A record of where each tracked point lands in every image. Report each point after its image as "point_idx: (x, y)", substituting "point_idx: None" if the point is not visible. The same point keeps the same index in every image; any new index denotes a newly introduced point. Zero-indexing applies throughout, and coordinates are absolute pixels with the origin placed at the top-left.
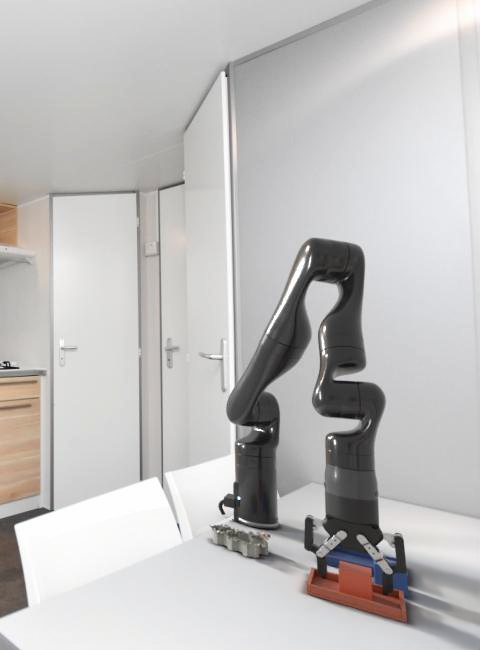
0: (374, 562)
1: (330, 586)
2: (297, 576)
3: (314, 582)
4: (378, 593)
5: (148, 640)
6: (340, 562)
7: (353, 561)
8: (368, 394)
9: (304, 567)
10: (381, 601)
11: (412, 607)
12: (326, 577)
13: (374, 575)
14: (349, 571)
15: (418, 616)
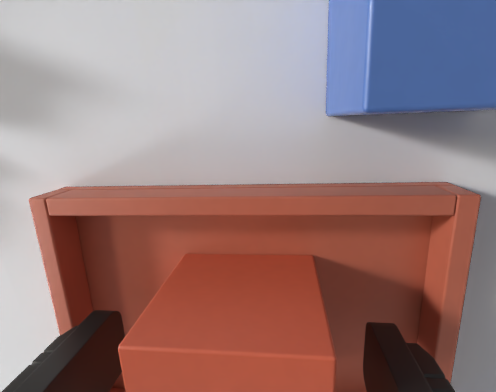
0: (370, 61)
1: (153, 294)
2: (29, 237)
3: (95, 296)
4: (340, 216)
5: None
6: (130, 387)
7: None
8: None
9: (7, 80)
10: (346, 308)
11: None
12: (120, 373)
13: (340, 113)
14: None
15: (476, 318)
